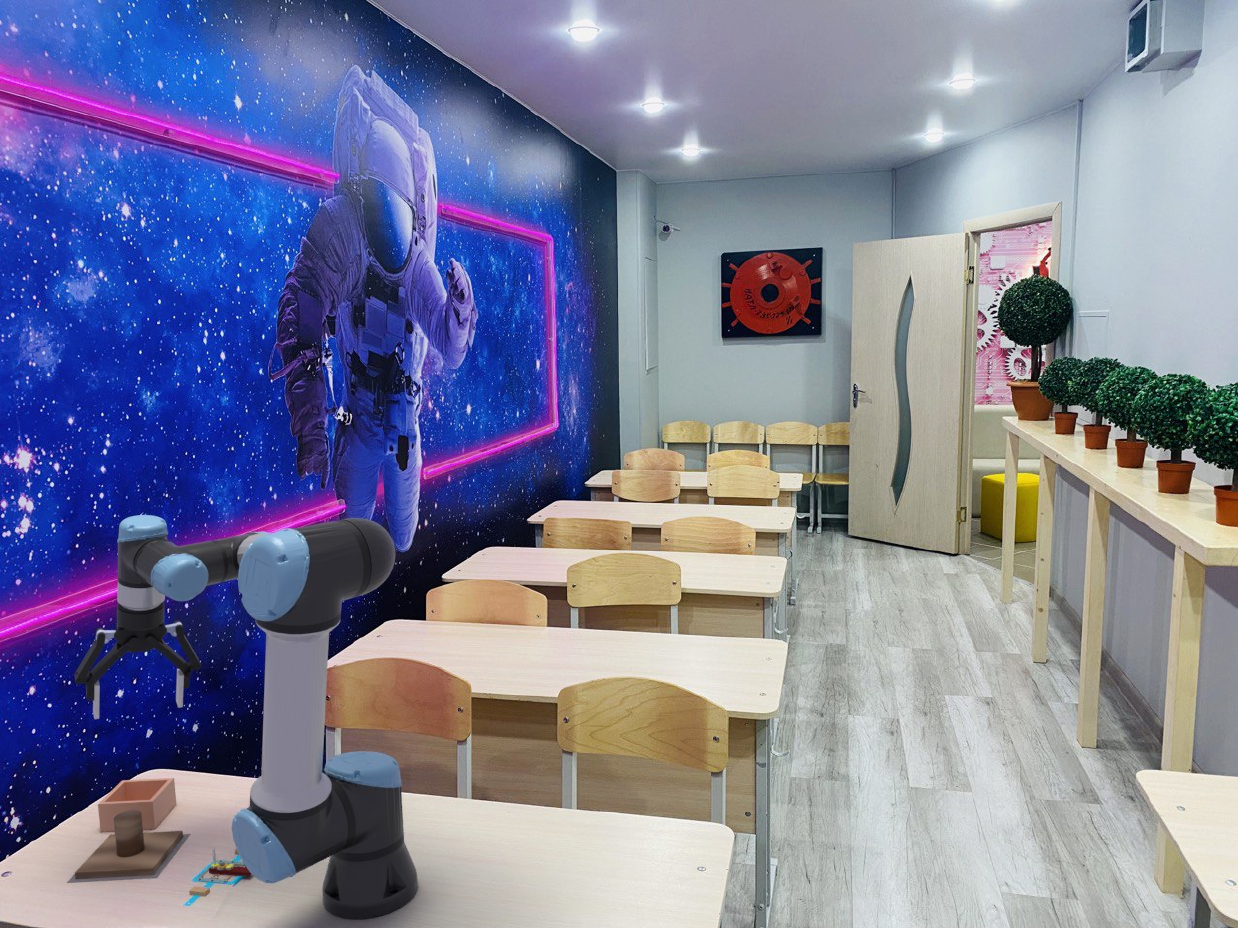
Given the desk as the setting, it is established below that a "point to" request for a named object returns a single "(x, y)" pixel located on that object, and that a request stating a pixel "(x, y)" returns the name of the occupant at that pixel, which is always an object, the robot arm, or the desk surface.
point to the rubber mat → (157, 873)
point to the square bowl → (139, 802)
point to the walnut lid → (129, 850)
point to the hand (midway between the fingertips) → (138, 709)
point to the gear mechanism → (218, 868)
